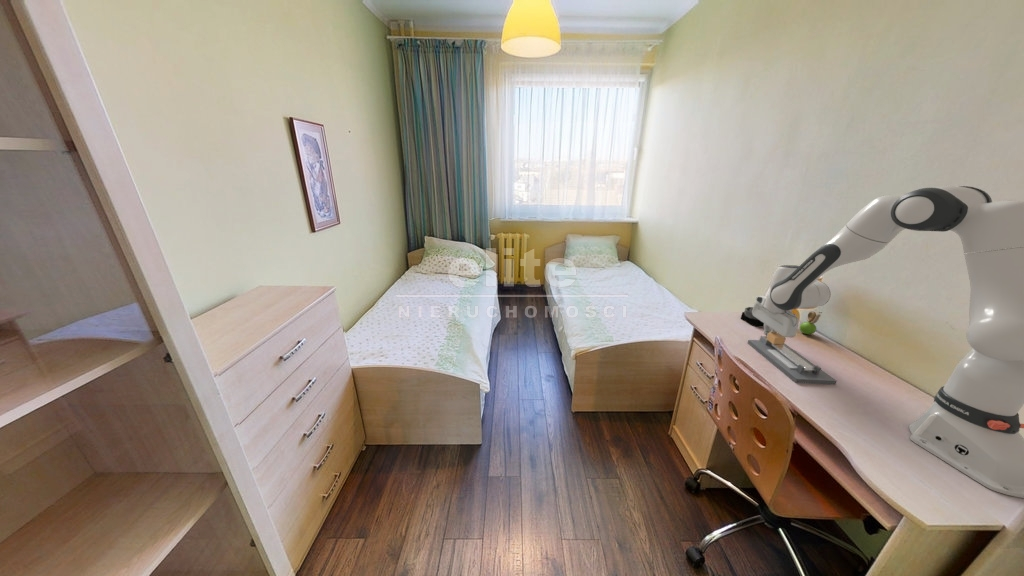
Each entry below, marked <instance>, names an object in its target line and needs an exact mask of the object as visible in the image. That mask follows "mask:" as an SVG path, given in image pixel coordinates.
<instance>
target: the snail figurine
mask: <svg viewBox="0 0 1024 576" xmlns="http://www.w3.org/2000/svg"><path fill="white" fill-rule="evenodd" d="M821 314H823V312H822V311H818V313H816V312H815V311H809V312H808V314H807V317H806V321H804V322H801V324H800V325H799V330H800V332H801V333H803V334H804V335H812V334H815V332H816V331H817V325H815V324H816V323H817V322H818V321H819V319H820V318H821Z"/></svg>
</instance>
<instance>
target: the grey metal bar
mask: <svg viewBox="0 0 1024 576" xmlns="http://www.w3.org/2000/svg"><path fill="white" fill-rule="evenodd" d="M772 346H773V347H775V348H776V349H777V350H779V351H780V352H781V353H782V354H784V355H785V356H786V357H787V358H789V359H790V360H791V361H793V362H794V363H795V364H796V365H802V366H803V367H805V368H804V371H816V368H815V367H812V366H811V365H809V364H808V363H807V362H805V361H804V360H803V359H801V358H800V357H799V356H797V355H796V354H795V353H793V352H792V351H791V350H789V349H788V348H787V347H785V346H784V345H783V344H772Z"/></svg>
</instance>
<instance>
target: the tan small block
mask: <svg viewBox="0 0 1024 576" xmlns="http://www.w3.org/2000/svg"><path fill="white" fill-rule="evenodd" d="M766 339H767V340H768V341H770V342H771V343H772V344H784V343H785V342H786V339H787V337H783V336H782V335H780V334H779V333H778V332H777V333H768V335H767V338H766Z"/></svg>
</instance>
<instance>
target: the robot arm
mask: <svg viewBox="0 0 1024 576" xmlns="http://www.w3.org/2000/svg"><path fill="white" fill-rule="evenodd" d="M905 229H906V230H911V231H918V232H943V233H944V232H948V231H951V232H954V233H956V235H958V236H959V238H960V241H961V244H962V249H963V255H964V259H965V264H966V265H965V266H966V270H967V274H968V279H969V285H970V288H969V289H970V297H969V306H968V307H969V309H968V311H969V312H968V318H969V321H968V327H967V330H966V333H965V334H966V335H965V337H966V338H965V339H966V341H967V343H968V345H969V346H970V347H971V349H970V350H969V351H968V352H967V354H965V356H964V357H963V358H962V359H960V360H959V361H958V363H957V364H956V366H955V368H954V369H953V372H952V373H951V374H950V376H949V378H948V379H947V381H946V382H945V384H944V385H943V386H941V387H940V388H939V389H938V391H937V393H935V395H934V398H933V403H931V405H930V407H928V409H927V410H926V411H925V412H924V413H923V414H922V415H921V416H920V417H919V418H918V419H916V420H915V421H913V422H912V423H910V424H909V427H908V428H909V431H910V434H911V435H910V437H909V439H910V441H912V442H913V443H915V444H916V445H918V446H919V447H921V448H923V449H924V450H925V451H928V452H929V453H931V454H932V455H934V456H936V457H937V458H939V459H940V460H942V461H944V462H945V463H946V464H948V465H950V466H952V467H953V468H955V469H956V470H958V471H960V472H961V473H962V474H964V475H966V476H968V477H970V478H971V479H972V480H974V481H976V482H977V483H979V484H981V485H982V486H984V487H985V488H987V489H989V490H991V491H994V492H998V493H1001V494H1004V495H1007V496H1010V497H1015V498H1023V499H1024V437H1023V436H1022V434H1021V433H1020V431H1021V430H1020V429H1024V423H1020V414H1019V411H1020V410H1021V409H1022V407H1023V406H1024V201H1021V200H1011V199H1010V200H999V201H993V200H992V198H991V196H990V195H989V194H988V192H986V191H985V190H983V189H980V188H978V187H974V186H965V185H964V186H959V185H958V186H955V185H954V186H953V185H940V186H933V187H924V188H918V189H916V190H913V191H910V192H908V193H905V194H904V195H902V196H901V197H900V196H897V195H883V196H878V197H876V198H874V199H872V200H871V201H869V203H868V204H866V205H865V206H864V207H862V208H861V209H860V210H859V211H858V212H856V213H855V215H853V216H852V218H851V219H850V220H849V221H847V222H846V224H845V225H844V226H843V227H842V228H841V229H840V230H839V231H838V232H837V233H836V234H835V235H834V236H833V237H832V238H831V239H829V240H828V241H827V242H826V243H824V244H823V245H822V246H821V247H820V248H818V249H817V250H816V251H814V252H813V253H812V254H811V255H809V257H807V258H806V259H805V260H804V261H803V262H801V264H799V265H797V264H796V265H794V264H786V265H780V266H778V267H777V268H776V269H775V271H774V273H773V275H772V278H771V281H770V284H769V291H768V292H767V294H766V295H756V296H755V302H754V303H753V306H752V307H753V310H752V314H753V316H754V317H756V318H757V319H759V320H760V321H761V322H763V323H764V326H763V330H764V331H763V336H767V335H768V333H779V334H780V335H782V336H783V337H785V338H790V339H791V338H794V337H795V336H797V332H798V327H799V318H798V316H797V314H795V313H793V310H796V309H808V308H817V307H818V308H819V307H822V306H824V305H826V304H827V303H828V302H829V301H830V298H831V290H830V287H829V286H828V284H826V283H825V282H822V281H820V280H819V279H820V278H821V277H822V276H823V275H825V273H827V272H829V271H830V270H833V269H835V268H838V267H841V266H844V265H847V264H851V263H856V262H859V261H863V260H867V259H870V258H871V257H873V256H875V255H876V254H878V253H879V252H881V251H882V250H883V249H884V248H885V247H887V245H888V244H890V243H891V242H892V240H894V239H895V238H896V237H897V236H898V235H899V234H900V233H901V232H902V231H904V230H905Z"/></svg>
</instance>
